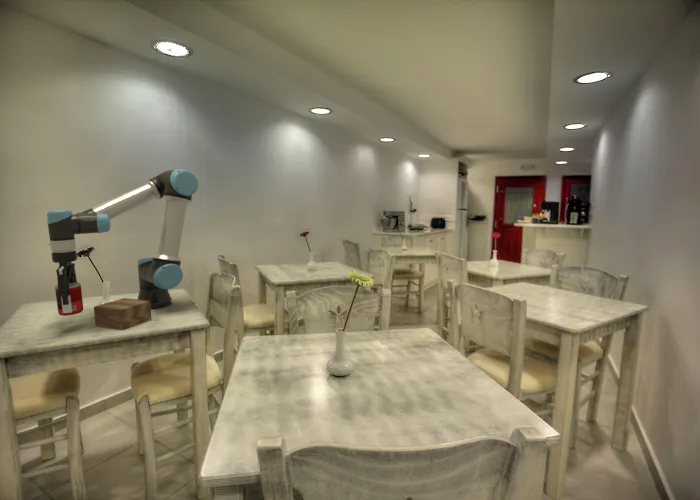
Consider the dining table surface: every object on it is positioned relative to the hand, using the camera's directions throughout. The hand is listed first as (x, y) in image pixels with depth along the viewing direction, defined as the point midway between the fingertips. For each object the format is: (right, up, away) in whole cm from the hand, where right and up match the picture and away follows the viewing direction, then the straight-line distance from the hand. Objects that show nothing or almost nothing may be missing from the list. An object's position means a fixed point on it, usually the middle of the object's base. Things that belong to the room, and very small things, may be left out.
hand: (70, 309), depth 146 cm
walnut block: (+15, -7, +9) cm, 19 cm away
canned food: (0, -1, 0) cm, 2 cm away
